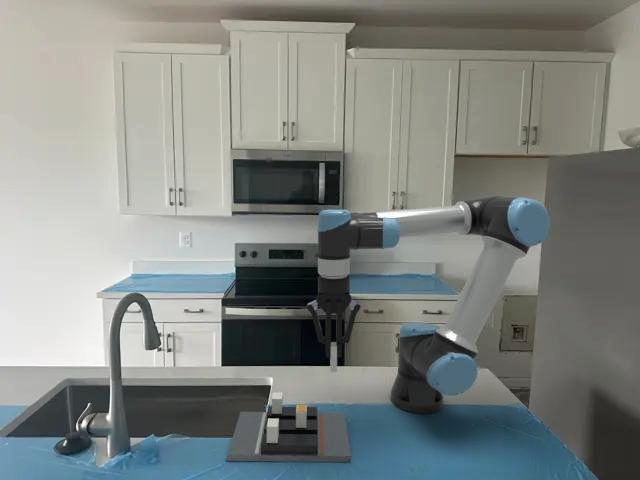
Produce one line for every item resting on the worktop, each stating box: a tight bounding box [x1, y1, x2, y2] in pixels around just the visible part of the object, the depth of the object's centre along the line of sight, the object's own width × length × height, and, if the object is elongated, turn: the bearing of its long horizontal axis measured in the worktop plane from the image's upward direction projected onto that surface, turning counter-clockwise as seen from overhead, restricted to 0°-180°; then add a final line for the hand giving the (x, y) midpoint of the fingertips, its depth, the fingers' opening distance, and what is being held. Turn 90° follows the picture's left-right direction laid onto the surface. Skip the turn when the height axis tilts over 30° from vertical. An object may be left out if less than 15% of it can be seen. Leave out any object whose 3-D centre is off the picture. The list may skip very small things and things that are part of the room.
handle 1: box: [271, 392, 284, 414], centre depth 116 cm, size 2×4×4 cm
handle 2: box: [267, 418, 279, 443], centre depth 103 cm, size 2×4×4 cm
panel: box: [226, 405, 352, 463], centre depth 110 cm, size 28×19×4 cm
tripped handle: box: [295, 404, 308, 428], centre depth 109 cm, size 2×4×4 cm
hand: (333, 369), depth 108 cm, fingers closed
